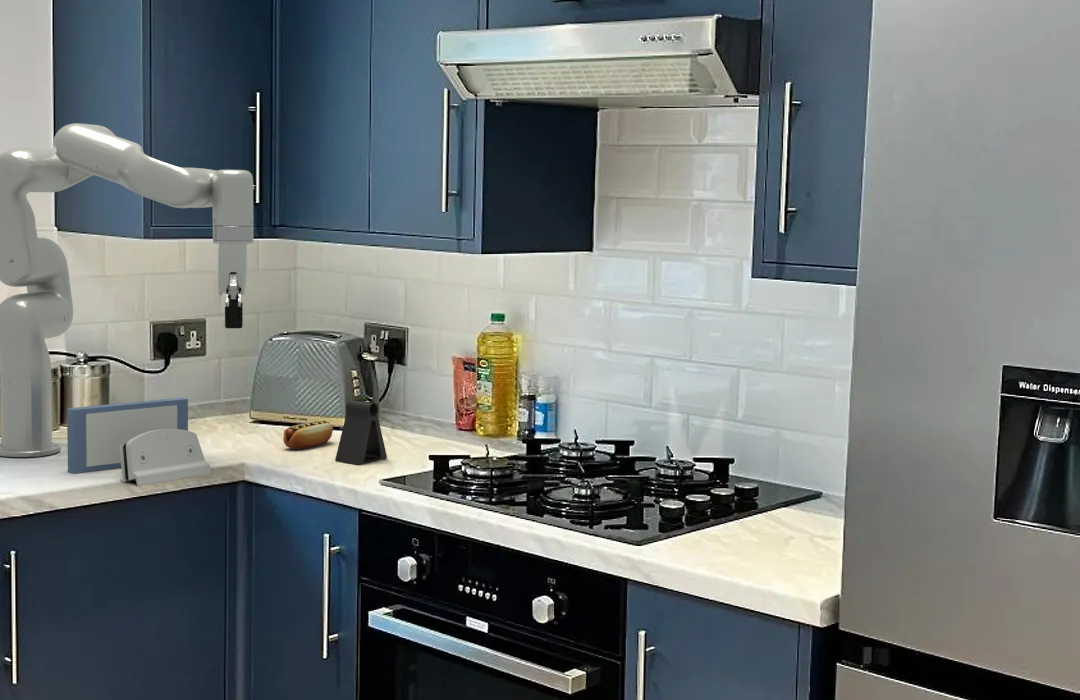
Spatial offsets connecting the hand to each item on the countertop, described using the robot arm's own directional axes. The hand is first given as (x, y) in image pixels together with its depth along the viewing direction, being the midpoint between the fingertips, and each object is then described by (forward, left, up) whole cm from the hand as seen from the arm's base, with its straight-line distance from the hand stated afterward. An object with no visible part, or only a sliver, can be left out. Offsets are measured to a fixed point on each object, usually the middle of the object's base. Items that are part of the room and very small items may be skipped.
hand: (234, 325), depth 273 cm
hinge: (-1, -14, -28) cm, 32 cm away
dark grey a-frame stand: (+8, +25, -28) cm, 38 cm away
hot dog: (-10, +25, -28) cm, 39 cm away
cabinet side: (-14, -14, -28) cm, 34 cm away
